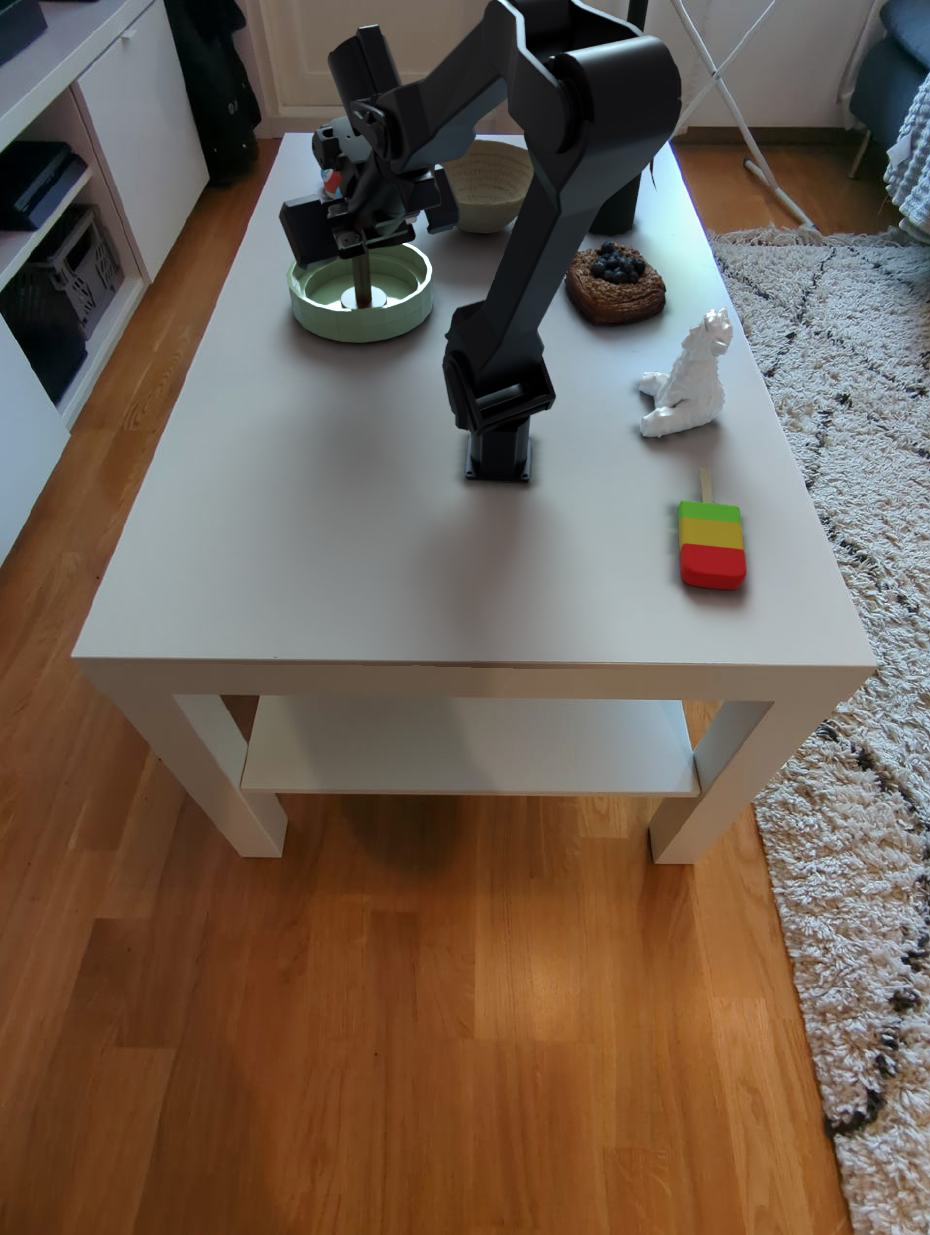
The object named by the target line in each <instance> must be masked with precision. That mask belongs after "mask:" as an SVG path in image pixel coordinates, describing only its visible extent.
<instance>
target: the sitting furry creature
mask: <svg viewBox="0 0 930 1235" xmlns="http://www.w3.org/2000/svg"><path fill="white" fill-rule="evenodd" d="M733 334H734V330H733V325H732V324H731V322H730V319H729V313H728V309H727V307H723V308H721V309H720V310H717V308H710V309H709V310H708V311H707V312H706V313H705V314H703V317H702V318H701V320H700V321H699V322H698V324H697V325H695V326H692V327H690V328H689V332H688V333H687V334H686V336H685V338H684V339H683V340H682V342H681V349H682V351H681V352H680V355H677V357H676V359H675V360H674V361H673V363H672V370H671V371H670V373H669V374H668V373H666V372H659V371H658V370H657V371H656V370H655V371H653V372H652V371H644V374H643V376H642V377H641V380H640V382H639V385H638V386H639V387H638V390H639V391H640V392H642V393H643V394H646V395H648V396H651V397H653V401H654V410H653V411H651V412H650V413H648V414H646V415H645V416H643V417H642V418H641V419H640V424H639V429H640V434H642V436H643V437H646V438H658V439H660V438H661V437H662V436H667V435H670V434H675V433H677V432H678V433H681V432H682V431H686V430H691V429H692V428H696V427H702V426H704V425H706V424H709V423H711V422H712V420H713V419H714V418H715V417H717V416H718V415H719V414H720V413H721V412H722V410H723V408H724V407H723V406H724V404H725V403H726V399H725V397H726V394H725V390H724V388H723V387H724V384H723V383H722V382H721V381H720V379H719V374H718V371H719V357H720V356H725V355H726V354H727V353H728V348H729V347H730V344H731V342H732V340H733V338H734V335H733Z"/></svg>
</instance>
